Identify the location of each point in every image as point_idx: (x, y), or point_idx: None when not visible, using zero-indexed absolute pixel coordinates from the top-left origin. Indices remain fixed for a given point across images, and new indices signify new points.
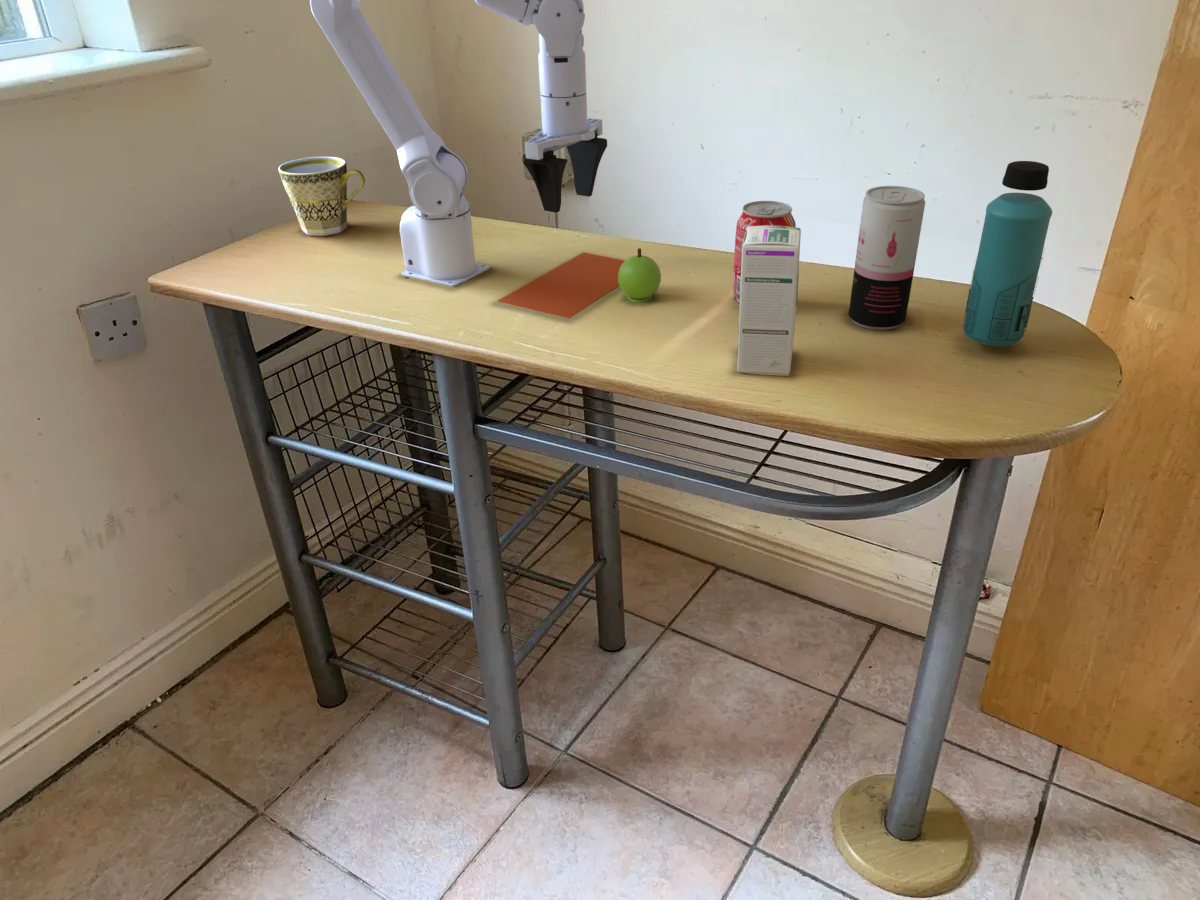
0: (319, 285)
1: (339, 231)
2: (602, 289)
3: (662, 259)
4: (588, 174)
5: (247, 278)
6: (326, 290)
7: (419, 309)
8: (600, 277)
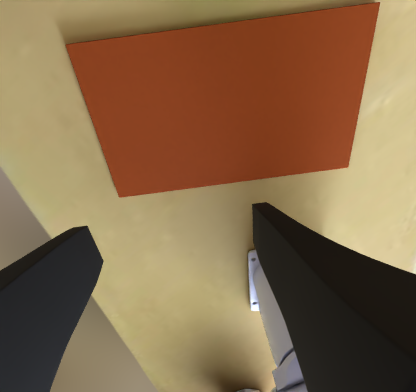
0: None
1: (245, 390)
2: (229, 45)
3: (12, 57)
4: (39, 284)
5: None
6: None
7: (390, 227)
8: (185, 93)
